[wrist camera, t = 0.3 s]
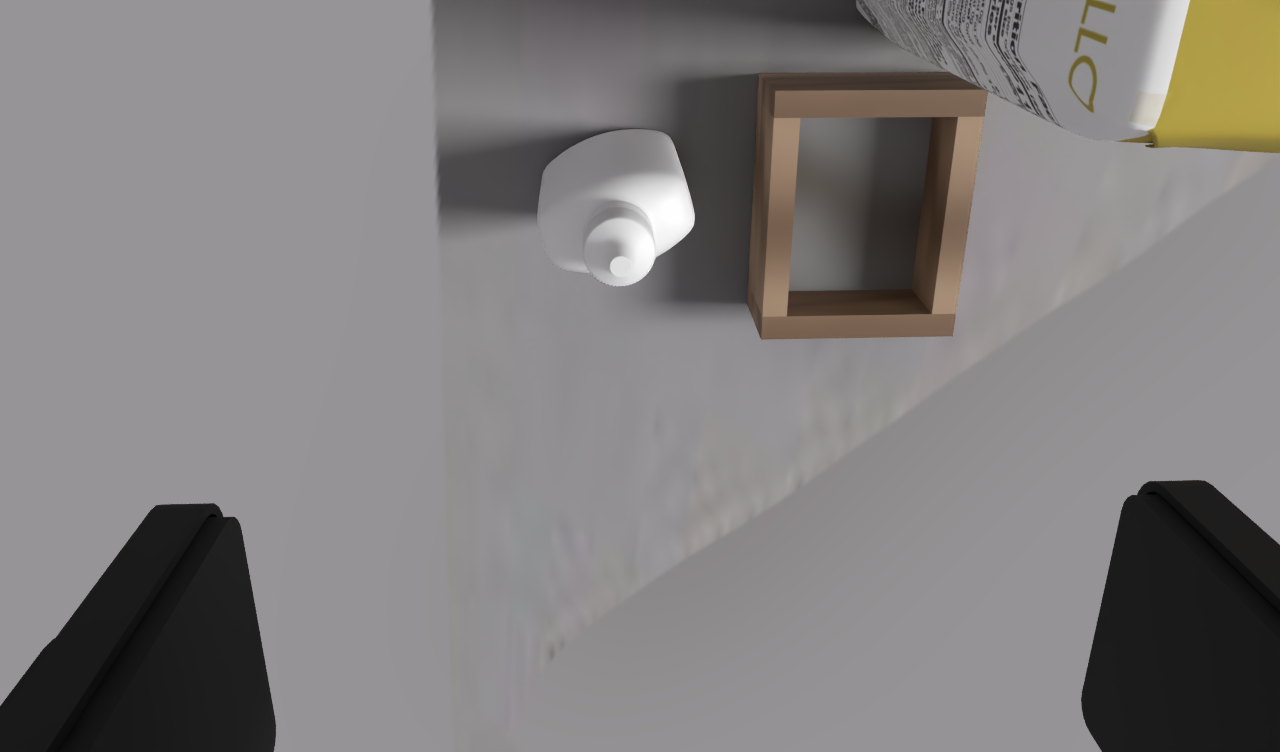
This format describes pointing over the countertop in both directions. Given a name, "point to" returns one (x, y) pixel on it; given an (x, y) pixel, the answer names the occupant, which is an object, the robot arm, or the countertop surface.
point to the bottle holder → (861, 203)
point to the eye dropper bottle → (614, 205)
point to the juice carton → (1111, 63)
